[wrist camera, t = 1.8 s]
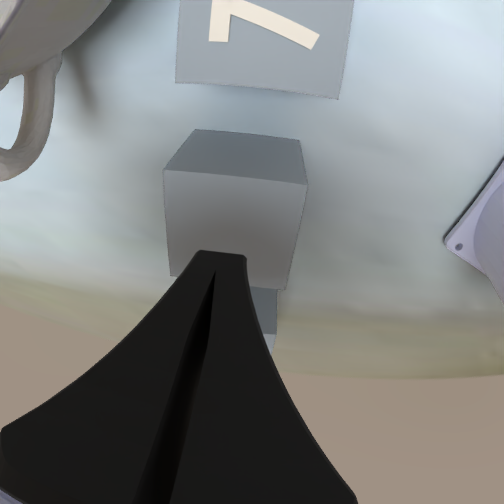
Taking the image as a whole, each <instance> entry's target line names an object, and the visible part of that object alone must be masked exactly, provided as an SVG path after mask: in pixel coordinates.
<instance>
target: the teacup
mask: <svg viewBox="0 0 504 504" xmlns="http://www.w3.org/2000/svg"><path fill="white" fill-rule="evenodd" d="M111 1H112V0H0V91H1V90H2V89H3V88H4V87H5V86H6V85H7V84H8V82H9V79H11V78H13V77H16V76H18V75H21V74H22V75H23V76H24V102H23V111H22V118H21V124H20V129H19V132H18V136H17V139H16V141H15V143H14V145H13V146H12V148H11V149H9V150H7V149H3V148H0V182H1V181H5V180H9V179H11V178H13V177H15V176H17V175H19V174H20V173H22V172H24V171H26V170H27V169H28V168H29V167H30V166H31V165H32V164H33V163H34V162H35V160H36V159H37V158H38V157H39V155H40V154H41V152H42V150H43V148H44V146H45V144H46V141H47V138H48V136H49V132H50V127H51V122H52V118H53V108H54V94H55V78H56V74H57V72H58V71H59V69H60V67H61V63H62V51H63V50H64V49H65V48H66V47H68V46H69V45H70V44H71V43H73V42H74V41H75V40H76V39H77V38H78V37H80V36H81V35H82V34H83V33H84V32H85V31H86V30H87V29H88V28H89V27H90V26H91V25H92V24H93V23H94V22H95V20H96V19H97V18H98V17H99V16H100V15H101V14H102V12H103V11H104V10H105V9H106V7H107V6H108V5H109V3H110V2H111Z"/></svg>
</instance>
